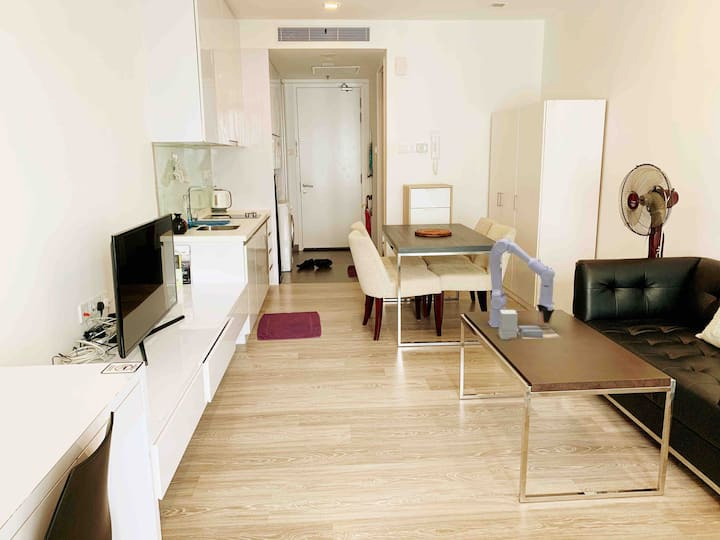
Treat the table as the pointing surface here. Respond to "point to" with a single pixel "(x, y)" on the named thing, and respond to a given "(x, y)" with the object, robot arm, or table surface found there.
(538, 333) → the base board
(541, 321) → the block
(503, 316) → the supplement box
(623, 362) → the table surface
